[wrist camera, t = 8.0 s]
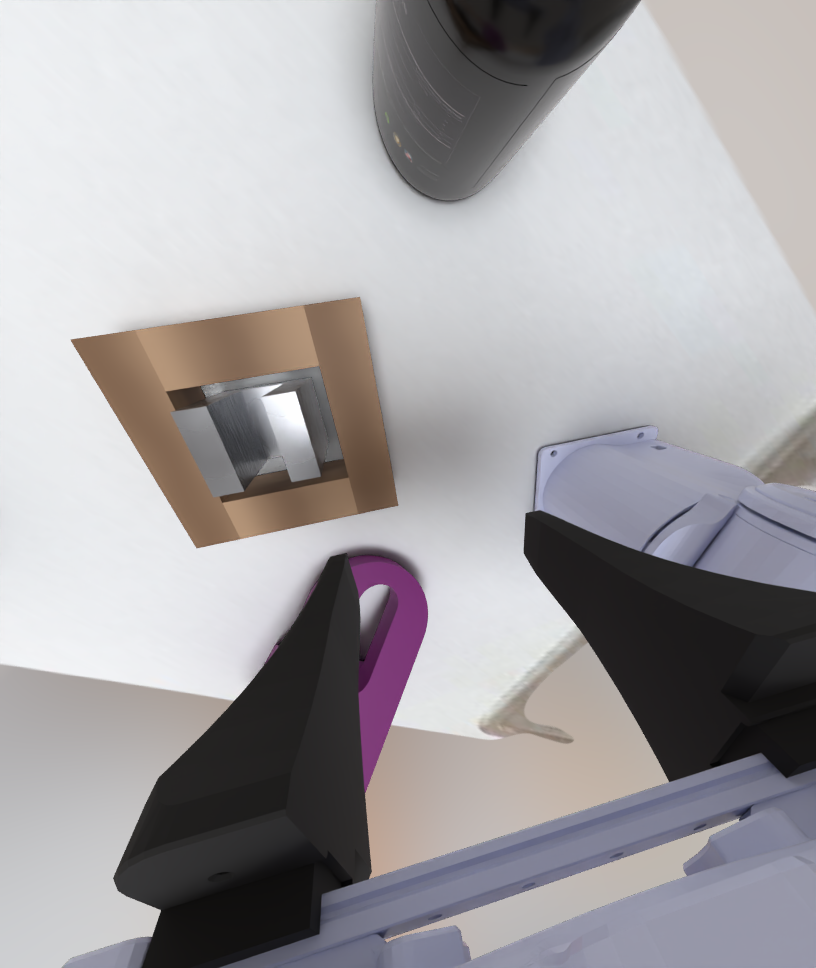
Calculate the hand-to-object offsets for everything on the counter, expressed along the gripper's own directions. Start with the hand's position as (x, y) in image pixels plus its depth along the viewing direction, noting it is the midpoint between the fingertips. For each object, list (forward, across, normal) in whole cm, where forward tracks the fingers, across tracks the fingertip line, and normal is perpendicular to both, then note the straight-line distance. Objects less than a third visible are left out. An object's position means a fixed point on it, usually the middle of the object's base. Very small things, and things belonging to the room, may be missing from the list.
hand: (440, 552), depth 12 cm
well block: (+10, +7, -4) cm, 13 cm away
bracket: (+10, +7, -4) cm, 13 cm away
